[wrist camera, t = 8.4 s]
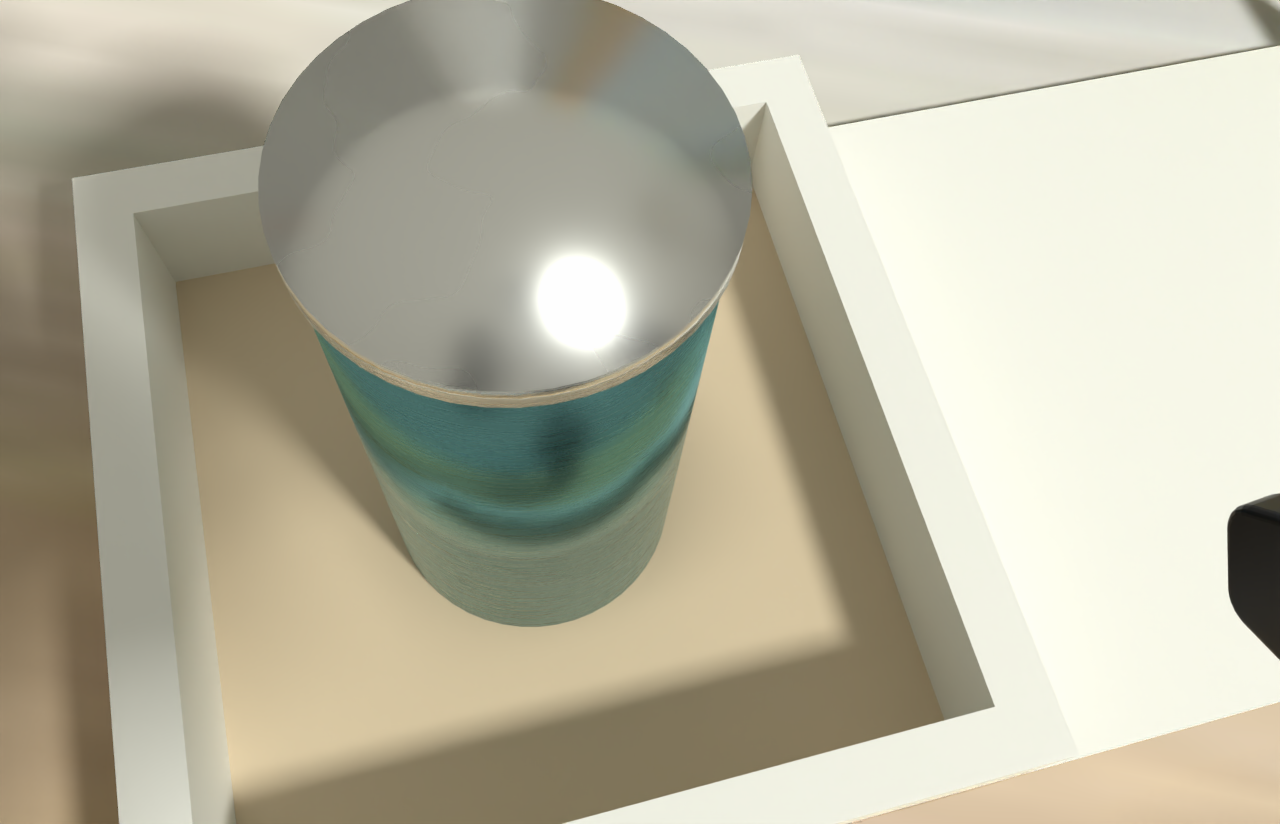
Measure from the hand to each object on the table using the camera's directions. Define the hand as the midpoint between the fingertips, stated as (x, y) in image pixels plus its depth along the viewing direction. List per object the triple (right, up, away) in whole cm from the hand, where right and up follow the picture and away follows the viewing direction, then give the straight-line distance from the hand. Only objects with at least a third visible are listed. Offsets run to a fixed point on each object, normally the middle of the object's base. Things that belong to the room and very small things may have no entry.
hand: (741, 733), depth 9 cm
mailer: (+4, +2, +14) cm, 15 cm away
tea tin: (-3, +1, +12) cm, 13 cm away
